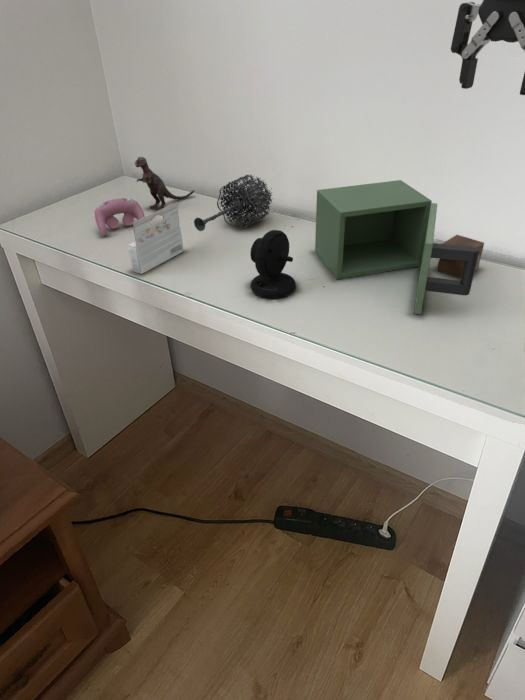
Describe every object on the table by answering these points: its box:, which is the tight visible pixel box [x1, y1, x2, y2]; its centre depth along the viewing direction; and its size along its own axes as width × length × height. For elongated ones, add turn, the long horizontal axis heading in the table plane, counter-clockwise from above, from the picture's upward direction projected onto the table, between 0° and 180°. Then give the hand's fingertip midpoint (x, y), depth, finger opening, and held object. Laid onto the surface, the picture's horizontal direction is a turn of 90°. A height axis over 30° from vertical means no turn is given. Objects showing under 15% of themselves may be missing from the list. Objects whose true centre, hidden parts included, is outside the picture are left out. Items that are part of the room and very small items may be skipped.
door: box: [413, 202, 479, 315], centre depth 81 cm, size 7×16×12 cm, turn 163°
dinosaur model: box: [134, 156, 195, 212], centre depth 117 cm, size 4×12×15 cm
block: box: [436, 234, 485, 280], centre depth 89 cm, size 5×5×5 cm
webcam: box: [250, 229, 297, 300], centre depth 85 cm, size 8×8×10 cm
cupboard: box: [314, 179, 433, 280], centre depth 92 cm, size 11×16×12 cm
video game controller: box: [94, 197, 146, 237], centre depth 109 cm, size 10×5×7 cm, turn 116°
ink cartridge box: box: [127, 201, 185, 275], centre depth 94 cm, size 2×11×10 cm, turn 144°
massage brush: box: [193, 174, 274, 232], centre depth 106 cm, size 9×22×9 cm, turn 144°
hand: (494, 91), depth 74 cm, fingers open, 8 cm apart
